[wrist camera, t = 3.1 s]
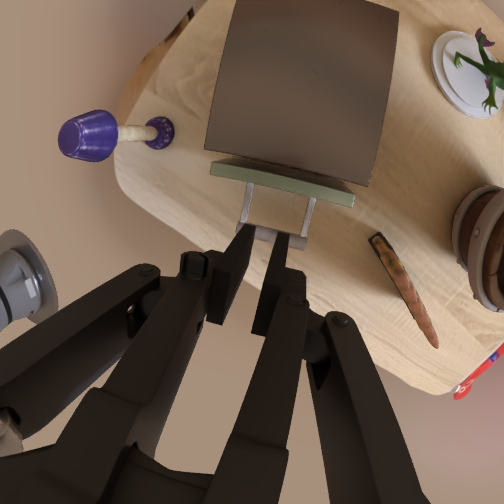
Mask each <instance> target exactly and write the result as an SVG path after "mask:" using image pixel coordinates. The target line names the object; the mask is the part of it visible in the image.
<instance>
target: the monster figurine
mask: <svg viewBox="0 0 504 504" xmlns="http://www.w3.org/2000/svg"><path fill="white" fill-rule="evenodd" d="M475 37H476V38H474V37H472V36H471V35H469V34H466V33H464V32H460V31H448V32H446V33H444V34H442V35H441V36H439V37H438V38H437V39H436V40H435V41H434V43H433V45H432V49H431V55H430V60H431V67H432V72H433V75H434V78H435V80H436V82H437V85H438V86H439V88H440V90H441V92H442V93H443V95H444V96H445V97H446V99H447V100H448V101H449V102H450V103H451V104H452V105H453V106H454V107H455V108H456V109H457V110H459V111H460V112H462V113H463V114H465V115H467V116H469V117H472V118H478V119H482V118H489V117H492V116H494V115H495V114H496V113H497V112H498V111H499V110H500V108H501V106H502V104H503V100H504V62H503V63H500V62H496V60H495V59H494V57H493V56H492V54H491V53H490V52H489V50H488V49H487V48H486V47H489V46H493V45H494V44H495V42H490V41H488V40H487V39H486V36H485V35H484V34H483V33H482V32H481V28H479V29H478V30H477V31H476V34H475ZM498 61H499V60H498Z"/></svg>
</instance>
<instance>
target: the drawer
mask: <svg viewBox="0 0 504 504" xmlns="http://www.w3.org/2000/svg"><path fill="white" fill-rule="evenodd" d="M210 175H215V176H220V177H225V178H230V179H235V180H240V181H244V182H247V187H246V193H245V198H244V203H243V208H242V214H241V219H240V221H239V222H238V224H237V227H236V234H237V233H238V232H239V230H240V229H241V227H242V226H243V225H244V223H246V224H250V225H254V226H256V231H255V236H254V239H257V240H262V241H266V242H270V243H275V240H276V236H277V232H278V231H279V232H283V233H287V234H290V238H289V245H288V247H290V248H294V249H298V250H302V251H304V250H305V248H306V244H307V237H306V235H307V231H308V227H309V224H310V220H311V216H312V212H313V208H314V205H315V201H316V198H317V199H321V200H325V201H328V202H332V203H336V204H340V205H343V206H347V207H350V208H352V207H353V203H354V200H355V196H356V195H355V194H354V193H353V192H352V191H351V190H350V189H349V188H348V187H347V186H346V185H345V184H344V183H343V182H341V181H337V180H334V179H330V178H326V177H322V176H319V175H315V174H311V173H307V172H303V171H299V170H294V169H290V168H286V167H281V166H277V165H272V164H268V163H263V162H258V161H253V160H248V159H243V158H238V157H229V158H225V159H221V160H217V161H213V162H212V163H211V169H210ZM254 184H258V185H263V186H267V187H272V188H276V189H280V190H285V191H289V192H293V193H297V194H301V195H305V196H309V201H308V205H307V209H306V213H305V217H304V221H303V225H302V229H301V232H300V235H297V234H293V233H289V232H285V231H280V230H276V229H272V228H268V227H264V226H260V225H255V224H251V223H247V218H248V213H249V208H250V203H251V198H252V193H253V188H254Z"/></svg>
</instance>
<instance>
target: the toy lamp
mask: <svg viewBox="0 0 504 504" xmlns="http://www.w3.org/2000/svg"><path fill="white" fill-rule="evenodd" d="M173 137H174V126H173V124H172V122H171V121H170V120H169V119H167V118H165V117H155V118H153V119H151V120H149V121H148V122H147V123H146V125H145V126H139V125H135V126H133V125H127V126H125V125H119V126H118V125H117V122H116V120H115V118H114V117H113V115H112V114H110V113H109V112H108V111H105V110H94V111H90V112H87V113H85V114H82V115H79V116H77V117H74V118H72V119H70V120H68V121H67V122H65V124H64V125H63V126H62V127H61V129H60V131H59V135H58V145H59V148H60V150H61V152H62V153H63V154H64V155H65V156H67V157H70V158H75V159H79V160H84V161H89V162H99V161H103V160H105V159H106V158H108V157H109V156H110V155H111V153H112V152H113V150H114V148H115V147H116V145H117V142H125V141H128V142H130V141H144V142H145V143H146V144H147V145H148V146H149V147H151V148H153V149H163V148H165V147H167V146H168V145H169V144H170V143H171V142H172V140H173Z"/></svg>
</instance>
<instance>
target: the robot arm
mask: <svg viewBox="0 0 504 504" xmlns="http://www.w3.org/2000/svg"><path fill="white" fill-rule="evenodd" d="M255 231H256V226H254V225H250V224H246V223H244V225H243V226H242V227H241V229H240V230H239V232H238V233H237V235H236V236H235V237H234V239H233V240H232V242H231V243H230V245H229V246H228V248H227V249H226V250H225V252H224V253H223V252H219V251H215V250H209V251H206V252H205V253H202V252H197V251H188V252H184V253H183V254H181V261H180V272H179V273H178V275H177V276H176V277H166V276H160V269H159V268H158V267H156V266H155V265H151V264H145V263H144V264H138V265H135V266H133V267H131V268H130V269H128V270H126V271H124V272H123V273H121V274H119V275H118V276H116V277H114V278H113V279H111V280H109V281H107V282H106V283H104V284H102V285H101V286H99V287H97V288H96V289H94V290H92V291H91V292H89V293H87V294H86V295H84V296H82V297H81V298H79V299H77V300H76V301H74V302H72V303H71V304H69V305H68V306H66V307H65V308H63V309H61V310H60V311H58V312H56V313H55V314H53V315H52V316H50V317H48V318H47V319H45V320H44V321H42V322H41V323H39V324H37V325H36V326H34V327H33V328H31V329H30V330H28V331H27V332H25V333H24V334H22V335H21V336H19V337H18V338H16V339H15V340H13V341H12V342H10V343H9V344H7V345H6V346H4V347H3V348H1V349H0V504H278V501H279V497H280V493H281V489H282V485H283V480H284V476H285V471H286V466H287V462H288V456H289V451H288V450H287V449H286V445H287V439H288V435H289V430H290V425H291V420H292V414H293V408H294V403H295V398H296V393H297V387H298V381H299V375H300V369H301V362H302V359H304V360H306V367H307V372H308V378H309V383H310V388H311V393H312V399H313V404H314V409H315V415H316V421H317V426H318V432H319V438H320V443H321V449H322V455H323V461H324V467H325V474H326V480H327V486H328V493H329V499H330V504H431V503H430V502H429V500H428V499H427V498H426V496H425V495H424V494H423V492H422V490H421V487H420V484H419V480H418V477H417V475H416V472H415V468H414V465H413V463H412V460H411V457H410V454H409V451H408V448H407V445H406V443H405V440H404V438H403V435H402V432H401V429H400V427H399V424H398V421H397V419H396V416H395V414H394V411H393V409H392V406H391V404H390V401H389V399H388V396H387V394H386V392H385V389H384V387H383V384H382V382H381V380H380V377H379V374H378V372H377V370H376V368H375V365H374V363H373V361H372V358H371V356H370V354H369V352H368V349H367V347H366V345H365V343H364V340H363V338H362V336H361V334H360V332H359V329H358V327H357V325H356V323H355V321H354V320H353V319H352V318H351V317H350V316H348V315H347V314H345V313H343V312H338V311H331V312H328V313H327V314H326V315H325V317H323V316H321V315H319V314H317V313H315V312H313V311H312V310H311V309H310V308H309V306H310V305H309V301H308V300H307V299H306V276H305V274H304V273H303V271H299V270H295V269H291V268H287V267H285V265H286V258H287V251H288V245H289V238H290V234H287V233H283V232H279V231H278V232H277V236H276V240H275V243H274V247H273V250H272V254H271V257H270V261H269V264H268V268H267V271H266V274H265V278H264V281H263V286H262V290H261V294H260V298H259V302H258V306H257V310H256V315H255V319H254V322H253V326H252V331H251V333H252V334H256V335H260V336H264V337H266V338H265V341H264V344H263V347H262V349H261V353H260V355H259V358H258V361H257V364H256V367H255V370H254V373H253V375H252V378H251V381H250V384H249V387H248V390H247V392H246V395H245V398H244V401H243V403H242V406H241V409H240V412H239V414H238V417H237V420H236V422H235V425H234V428H233V430H232V433H231V434H230V437H229V439H228V441H227V444H226V446H225V449H224V451H223V454H222V456H221V459H220V461H219V464H218V466H217V469H216V471H215V474H214V475H213V474H203V473H190V472H181V471H173V470H170V469H167V468H166V467H164V466H163V465H161V464H160V463H158V462H156V461H155V460H154V455H155V450H156V447H157V444H158V441H159V438H160V436H161V433H162V431H163V428H164V425H165V422H166V420H167V417H168V415H169V412H170V409H171V407H172V404H173V402H174V399H175V396H176V394H177V391H178V389H179V386H180V384H181V381H182V378H183V376H184V373H185V371H186V368H187V365H188V363H189V361H190V358H191V355H192V353H193V350H194V348H195V345H196V343H197V340H198V338H199V335H200V333H201V330H202V328H203V322H204V317H205V315H206V314H207V317H206V321H208V322H211V323H214V324H218V325H223V322H224V320H225V318H226V315H227V313H228V311H229V309H230V306H231V304H232V302H233V299H234V297H235V295H236V293H237V290H238V288H239V286H240V283H241V281H242V279H243V277H244V274H245V272H246V270H247V268H248V265H249V260H250V255H251V250H252V246H253V241H254V236H255ZM42 306H43V293H42V288H41V285H40V282H39V279H38V277H37V275H36V272H35V271H34V269H33V267H32V265H31V264H30V262H29V261H28V259H27V258H26V257H25V256H24V255H23V254H22V253H21V252H20V251H18V250H17V249H14V248H11V249H9V250H7V251H5V252H4V253H2V254H1V256H0V331H2V330H3V329H4V328H5V327H6V326H7V325H9V324H10V323H11V322H12V321H14V320H18V319H21V318H24V317H28V316H31V315H33V314H36V313H37V312H38V311H39V310H40V309H41V308H42ZM130 306H132V309H130V310H129V311H128V309H129V307H130ZM120 358H121V359H120ZM119 359H120V361H119V362H118V364H117V365H116V367H115V369H114V370H113V371H112V373H111V375H110V376H109V378H108V379H107V381H106V383H105V384H104V385H103V387H101V388H96V387H93V388H91V389H90V390H89V391H88V392H87V393H86V394H85V396H84V397H83V399H82V401H81V402H80V404H79V405H78V407H77V408H76V410H75V412H74V413H73V415H72V417H71V418H70V420H69V421H68V423H67V425H66V426H65V428H64V430H63V431H62V433H61V435H60V436H59V438H58V440H57V441H56V443H55V444H52V445H48V446H45V447H41V448H37V449H34V450H29V451H25V452H23V445H22V440H24V439H26V438H28V437H30V436H32V435H33V434H35V433H36V432H38V431H40V430H41V429H42V428H43V427H45V426H46V425H47V424H48V423H49V422H50V421H52V420H53V419H54V418H55V417H56V416H57V415H58V414H59V413H60V412H61V411H63V410H64V409H65V408H66V407H67V406H68V405H69V404H70V403H71V402H72V401H74V400H75V399H76V398H77V397H78V396H79V395H80V394H81V393H82V392H83V391H84V390H86V389H87V388H88V387H89V386H90V385H91V384H92V383H93V382H95V381H96V380H97V379H98V378H99V377H100V376H101V375H102V374H103V373H104V372H105V371H106V370H108V369H109V368H110V367H111V366H112V365H113V364H114V363H116V362H117V361H118V360H119Z"/></svg>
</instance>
